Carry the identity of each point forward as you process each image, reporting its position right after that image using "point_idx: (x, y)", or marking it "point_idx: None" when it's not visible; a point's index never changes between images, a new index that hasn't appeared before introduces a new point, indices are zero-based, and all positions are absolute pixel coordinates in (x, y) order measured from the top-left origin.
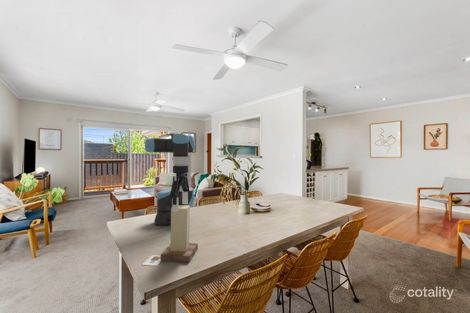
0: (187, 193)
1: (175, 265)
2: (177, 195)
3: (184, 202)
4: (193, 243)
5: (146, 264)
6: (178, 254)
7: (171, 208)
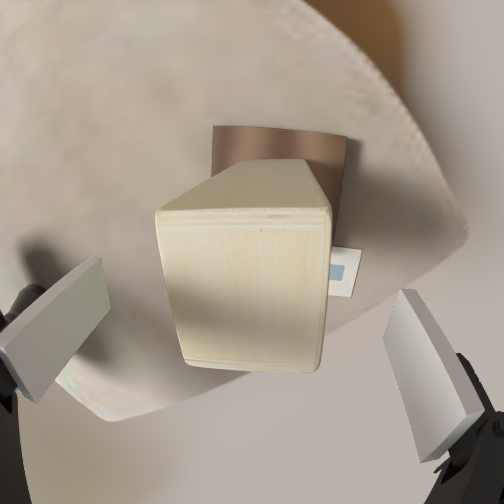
0: (12, 330)
1: (361, 185)
2: (495, 443)
3: (97, 297)
4: (214, 146)
5: (351, 285)
6: (331, 187)
7: (315, 370)
